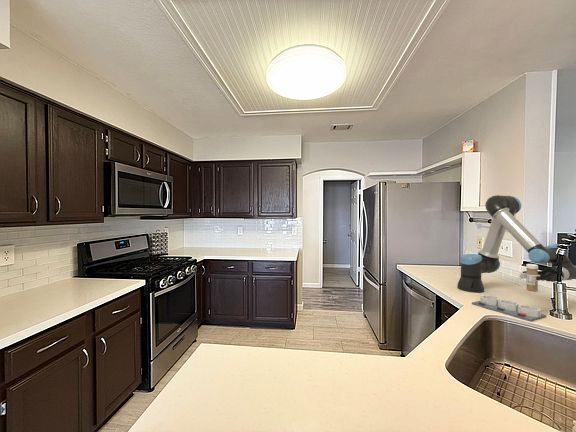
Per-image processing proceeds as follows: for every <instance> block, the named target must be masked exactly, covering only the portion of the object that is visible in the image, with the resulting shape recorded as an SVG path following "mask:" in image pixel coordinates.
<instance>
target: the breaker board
mask: <svg viewBox="0 0 576 432" xmlns="http://www.w3.org/2000/svg"><path fill="white" fill-rule="evenodd" d="M479 298H480V299H479V300H477V301H474V302H473V301H472V302H471V305H472V306H476V307H480V308H484V309H487V310H490V311H493V312H497V313H500V314H503V315H507V316H510V317H514V318H517V319H520V320H523V321H527V322H531V323H532V322H534V321H535V322H536V321H539V320H541V319H544V318H547V314H544V313H542V309H541V308H539V307H536V306H532V305H528V304H527V305H526V304H519V302H517V301H512V300H509V299H508V300H507V299H500V298H499V297H497V296H494V295H493V296H492V295H487V294H486V295H485V294H483V295H480V296H479Z"/></svg>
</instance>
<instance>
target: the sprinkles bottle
mask: <svg viewBox="0 0 576 432" xmlns="http://www.w3.org/2000/svg"><path fill="white" fill-rule="evenodd" d="M525 267H526V268H525V269H526V271H527V274H526V278H525V280H526V283H525V284H526V291H528V292H532V293H537V292H539V290H538V289H539V288H538V287H539V286H538V285H539V281H530V276H532V275H538V271H539V265H538V264H536V263H534V264H533V263H527V264H525Z"/></svg>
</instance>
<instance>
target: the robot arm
mask: <svg viewBox="0 0 576 432" xmlns="http://www.w3.org/2000/svg"><path fill="white" fill-rule="evenodd" d="M484 206H485V210H486V211H487V213H488V214H489V216H491V217H492V220H491V222H490V226H489V228H488V231H487V235H486V238H485V240H484V243H483V245H482V249H480V250H478V252H477V253H465V254H462V255H461V259H460V277H459V280H458V283H457V285H456V287H457V289H459V290H461V291H465V292H469V293H484V292H485V286H484V284H483V281H482V274H491V273H494V272H497V271H498V270H499V269H500V267H501V261H500V260H499V259H500V256H499V254H498V253H499V250H500V247H501V244H502V241H503V239H504V236H505V233H506V231H507V232H508V233H509V234H510V235H511V236H512V237H513V238H514V239H515V240H516V241H517V242H518V243H519V244H520V246H521V247H523V249H524V250H526V252H527V253H528V259H529V260H530V261H531V262H532V263H534V264H546V263H550V264H551V265H552V266H549V267H548V266H547V267H545V268H544V269H543V270H538V275H532V276H530V281H538V282H539V281H543V282H544V281H546V282H553V283H556V282H558V281H557V254H556V249H557V246H558V243H555V244H549V245H546V246H544V245H543V244H542V243H541V242H540V241H539V240H538V239H537V238H536V237H535V236H534V235H533V233H531V232H530V231H529V230H528V229H527V228H526V227H525V226H524V225H523V224H522V223H521V222H520V221H519V219H517V218H516V216H515V214H517V213H519V212H520V211H521V209H522V202H521V201H520V199H519V198H518V197H516V196H512V195H500V194H499V195H492V196H490V197H488V198H487V200H486V202H485V205H484ZM526 274H527V270H525V271H522V272H520V273H518V280H524V279H525V280H526ZM572 280H576V265H574V264H573V263H572V261H571V260H570V259H569V257H568V256H567V254H566V253H565V255H564V256H563V261H562V281H563V282H564V281H572Z"/></svg>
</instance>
